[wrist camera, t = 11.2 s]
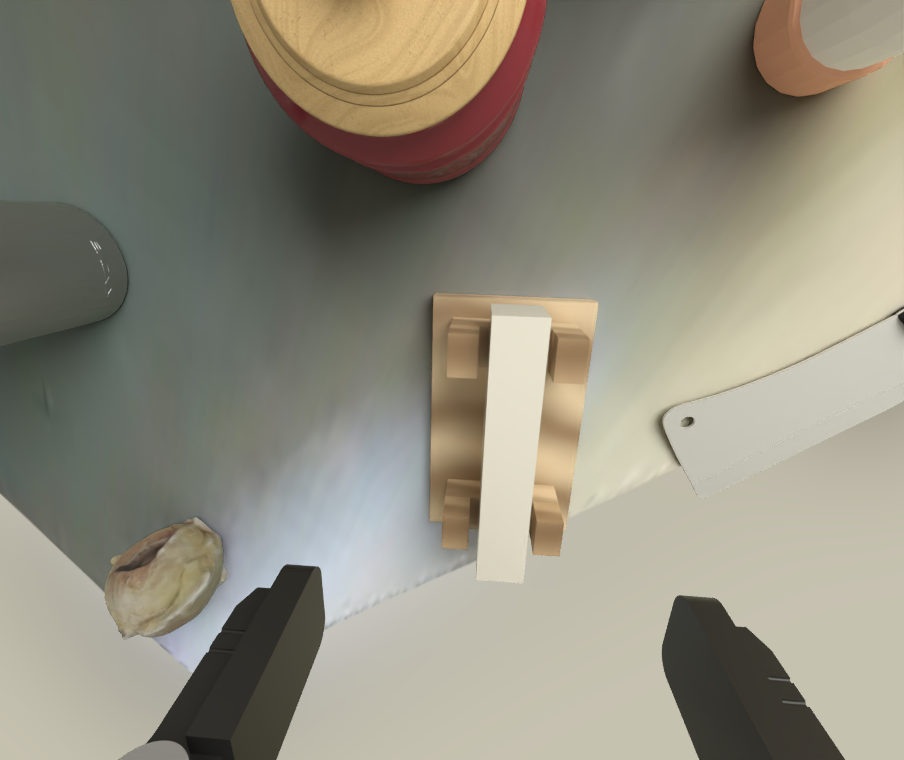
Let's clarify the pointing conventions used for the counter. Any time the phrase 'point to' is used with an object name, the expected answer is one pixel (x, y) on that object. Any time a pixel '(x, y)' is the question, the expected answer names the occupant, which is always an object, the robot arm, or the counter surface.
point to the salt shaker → (825, 42)
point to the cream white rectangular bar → (510, 437)
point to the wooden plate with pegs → (463, 409)
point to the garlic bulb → (165, 579)
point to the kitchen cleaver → (788, 408)
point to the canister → (397, 76)
